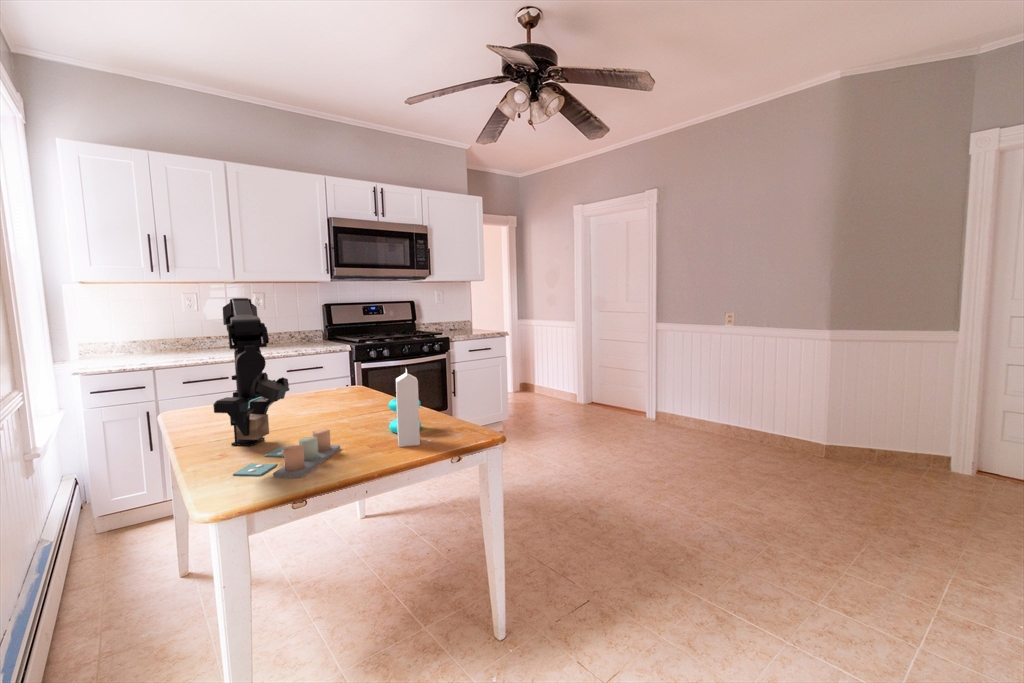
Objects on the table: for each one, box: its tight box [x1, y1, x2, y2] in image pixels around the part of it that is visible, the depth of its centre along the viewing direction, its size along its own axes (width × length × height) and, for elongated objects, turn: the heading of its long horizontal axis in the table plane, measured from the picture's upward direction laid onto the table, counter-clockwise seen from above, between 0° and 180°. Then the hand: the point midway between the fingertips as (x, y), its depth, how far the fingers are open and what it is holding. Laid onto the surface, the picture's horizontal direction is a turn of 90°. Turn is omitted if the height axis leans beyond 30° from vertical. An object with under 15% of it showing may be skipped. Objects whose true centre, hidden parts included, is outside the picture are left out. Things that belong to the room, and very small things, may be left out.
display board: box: [272, 428, 341, 479], centre depth 121 cm, size 7×21×6 cm, turn 176°
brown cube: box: [236, 413, 270, 440], centre depth 115 cm, size 5×5×5 cm
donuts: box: [388, 398, 422, 434], centre depth 149 cm, size 10×10×10 cm
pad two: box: [232, 462, 278, 477], centre depth 116 cm, size 7×7×1 cm
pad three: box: [265, 446, 287, 458], centre depth 129 cm, size 7×7×1 cm
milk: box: [395, 368, 421, 448], centre depth 135 cm, size 6×6×22 cm
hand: (253, 432), depth 115 cm, fingers closed on brown cube, 5 cm apart
